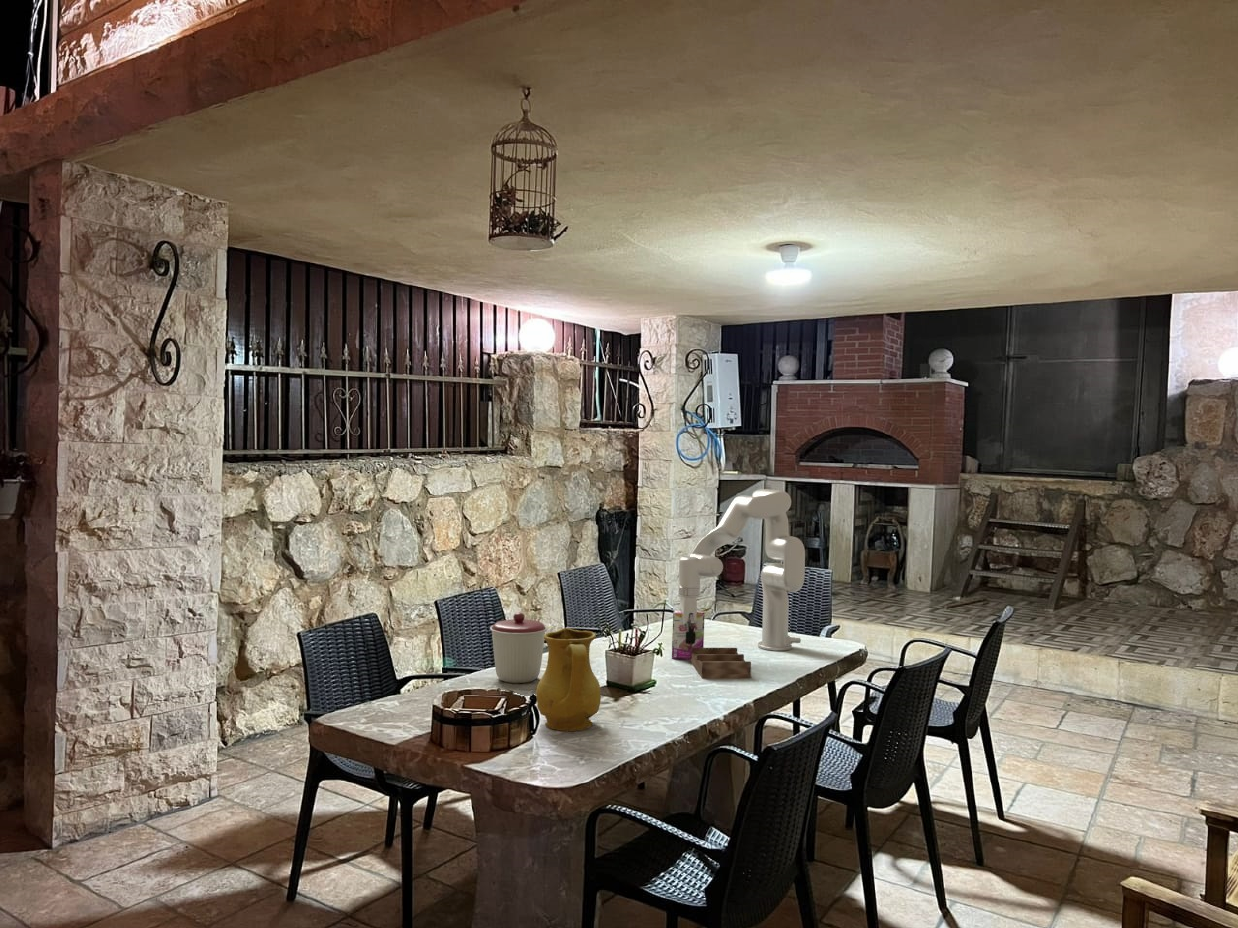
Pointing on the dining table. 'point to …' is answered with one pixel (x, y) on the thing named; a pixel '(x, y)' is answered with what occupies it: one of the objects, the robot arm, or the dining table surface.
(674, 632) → the candy bar box
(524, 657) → the canister
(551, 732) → the dining table surface
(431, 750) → the dining table surface
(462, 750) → the dining table surface
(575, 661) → the pitcher
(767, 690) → the dining table surface
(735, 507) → the robot arm
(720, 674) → the rack
